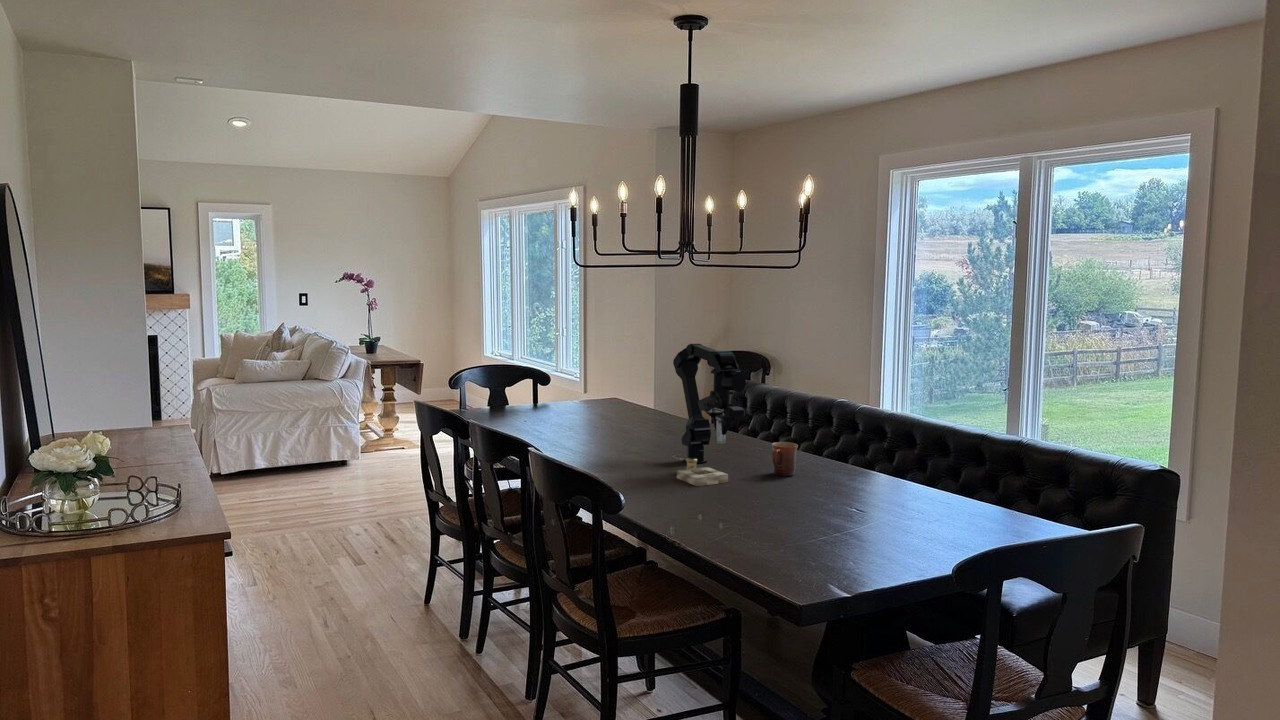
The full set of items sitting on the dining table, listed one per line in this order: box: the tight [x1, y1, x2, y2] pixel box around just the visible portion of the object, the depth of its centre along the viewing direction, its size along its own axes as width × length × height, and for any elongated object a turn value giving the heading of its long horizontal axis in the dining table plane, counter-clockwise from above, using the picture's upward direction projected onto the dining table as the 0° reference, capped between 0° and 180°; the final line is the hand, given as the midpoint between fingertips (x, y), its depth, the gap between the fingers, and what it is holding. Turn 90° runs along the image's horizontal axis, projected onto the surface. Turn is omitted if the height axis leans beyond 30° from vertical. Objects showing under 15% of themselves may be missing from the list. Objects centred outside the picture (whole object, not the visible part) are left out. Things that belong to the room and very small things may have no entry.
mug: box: [771, 441, 799, 477], centre depth 293 cm, size 12×9×10 cm
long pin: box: [715, 416, 727, 444], centre depth 296 cm, size 4×4×9 cm
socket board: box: [676, 466, 729, 487], centre depth 285 cm, size 12×12×3 cm
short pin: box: [685, 457, 697, 469], centre depth 296 cm, size 4×4×5 cm
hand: (720, 433), depth 296 cm, fingers closed on long pin, 3 cm apart
